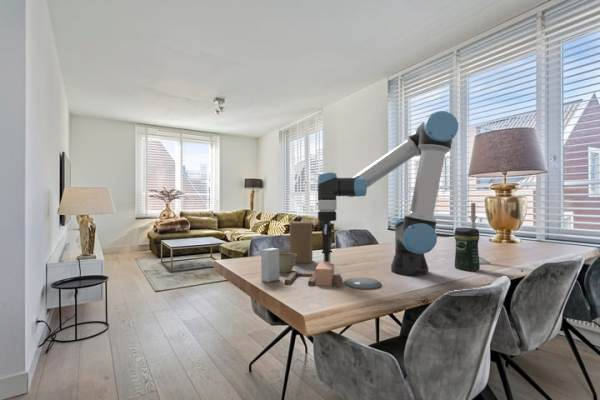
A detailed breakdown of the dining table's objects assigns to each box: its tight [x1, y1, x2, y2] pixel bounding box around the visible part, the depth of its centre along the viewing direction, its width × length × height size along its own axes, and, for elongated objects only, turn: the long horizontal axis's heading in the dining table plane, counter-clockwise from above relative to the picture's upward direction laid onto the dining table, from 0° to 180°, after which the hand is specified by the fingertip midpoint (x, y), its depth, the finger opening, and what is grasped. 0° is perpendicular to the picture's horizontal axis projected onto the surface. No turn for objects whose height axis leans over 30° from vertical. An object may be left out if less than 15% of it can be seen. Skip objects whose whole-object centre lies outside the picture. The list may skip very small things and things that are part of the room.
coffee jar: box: [454, 227, 481, 272], centre depth 136 cm, size 10×8×19 cm
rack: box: [284, 271, 342, 288], centre depth 116 cm, size 20×14×2 cm
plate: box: [344, 277, 382, 290], centre depth 111 cm, size 13×13×1 cm
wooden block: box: [289, 220, 313, 264], centre depth 152 cm, size 10×10×20 cm
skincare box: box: [260, 247, 280, 283], centre depth 117 cm, size 6×4×12 cm
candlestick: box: [469, 202, 489, 265], centre depth 152 cm, size 13×13×30 cm
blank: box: [314, 262, 335, 287], centre depth 115 cm, size 6×10×6 cm, turn 169°
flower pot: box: [279, 252, 297, 273], centre depth 132 cm, size 10×10×7 cm
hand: (327, 269), depth 123 cm, fingers closed
